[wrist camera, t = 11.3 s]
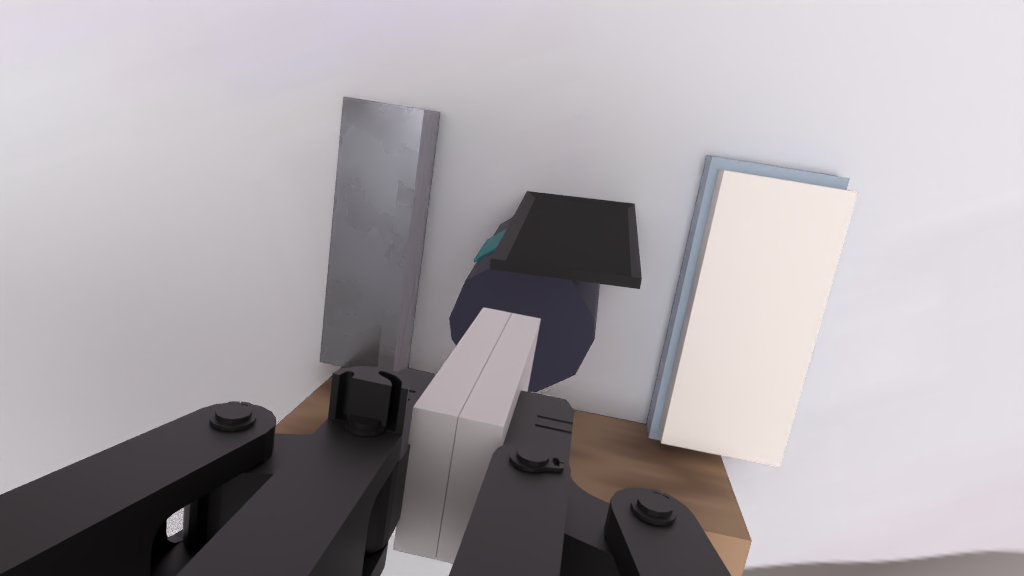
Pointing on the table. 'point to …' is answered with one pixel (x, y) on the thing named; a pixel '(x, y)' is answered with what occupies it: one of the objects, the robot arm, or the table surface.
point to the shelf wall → (619, 470)
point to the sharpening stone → (748, 308)
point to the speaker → (553, 275)
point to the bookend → (377, 233)
